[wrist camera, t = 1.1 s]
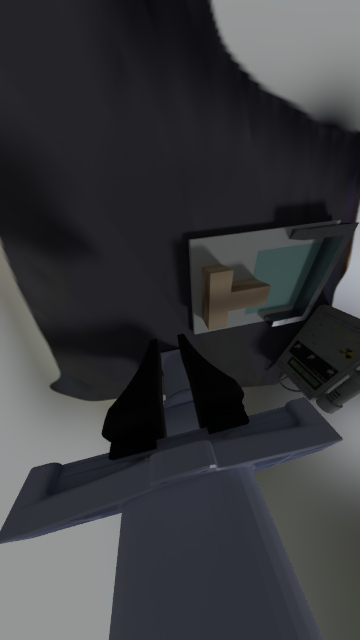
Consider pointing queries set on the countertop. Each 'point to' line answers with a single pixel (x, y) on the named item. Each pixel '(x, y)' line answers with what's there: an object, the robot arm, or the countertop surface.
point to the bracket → (315, 268)
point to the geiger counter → (325, 358)
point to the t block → (228, 294)
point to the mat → (255, 268)
